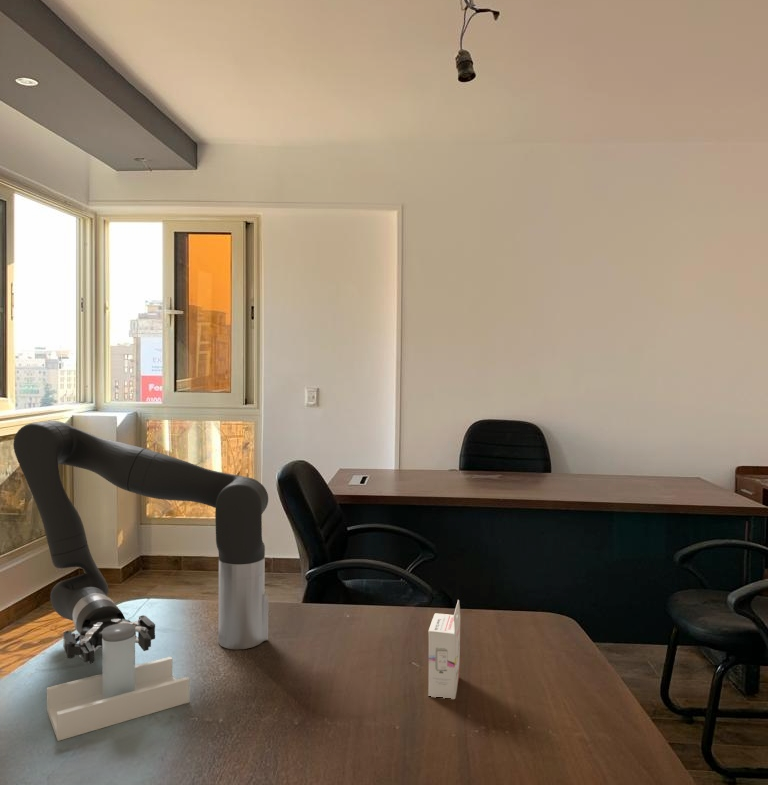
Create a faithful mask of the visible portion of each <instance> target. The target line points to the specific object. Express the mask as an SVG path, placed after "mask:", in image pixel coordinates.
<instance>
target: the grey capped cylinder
mask: <svg viewBox="0 0 768 785" xmlns="http://www.w3.org/2000/svg"><path fill="white" fill-rule="evenodd" d="M101 649H102V650H101V652H102V657H101V658H102V666H101V667H102V673H101V674H102V681H103V699H106V698H110V697H114V696H117V695H121V694H125V693H128V692H132V691H135V665H136V643H135V626H134V625H132V624H128V623H120V624H114V625H111V626H108V627H106V628H104V629H103V631H102V648H101Z"/></svg>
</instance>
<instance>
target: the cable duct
mask: <svg viewBox="0 0 768 785" xmlns="http://www.w3.org/2000/svg"><path fill="white" fill-rule="evenodd" d="M189 703H190V678H189V676H184V677H181V678H177V679H176V678H175V677H174V675H173V658H172V656H167V657H162V658H160V659H155V660H151V661H148V662H144V663H143V662H142V663H140V664H135V691H132V692H128V693H125V694H121V695H117V696H114V697H110V698H106V699H103V681H102V673H100V674H97V675H90V676H88V677H84V678H79V679H76V680H72V681H68V682H64V683H59V684H55V685H52V686H48V687H46V713H47V715H48V718H49V720H50V723H51V726H52V729H53V732H54V734H55V737H56V740H57V742H58V741H59V742H60V741H62V740H66V739H69V738H73V737H77V736H79V735H83V734H86V733H89V732H93V731H96V730H100V729H104V728H107V727H110V726H115V725H117V724H120V723H124V722H128V721H131V720H133V719H137V718H140V717H144V716H147V715H151V714H154V713H157V712H162V711H165V710H167V709H170V708H174V707H178V706H181V705H182V706H183V705H185V704H189Z"/></svg>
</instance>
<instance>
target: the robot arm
mask: <svg viewBox="0 0 768 785" xmlns="http://www.w3.org/2000/svg"><path fill="white" fill-rule="evenodd" d="M12 444H13V445H12V446H13V450H14V451H13V452H14V454H15V458H16V460H17V462H18V464H19V467H20V469H21V472H22V474H23V476H24V479H25V480H26V482H27V486H28V488H29V490H30V492H31V495H32V497H33V498H32V499H34V502H35V505H36V508H37V510H38V513H39V515H40V519H41V522H42V524H43V525H42V526H43V528H44V533H45V537H46V541H47V545H48V550H49V554H50V558H51V562H52V564H53V566H54V567H55V568H56V569H68V568H80V569H82V571H83V572H84V573H82V574H79V575H76V576H73V577H70V578H67V579H66V578H65V579H64V580H61V581H59V582H57V583H56V584H54V586H53V587H52V588H51V591H50V604H51V606H52V608H53V610H54V611H55V612H56V614H57V615H59V616H60V617H62V618H64V619H66V620H69V621H72V622H73V625H74V628H75V630H76V631H77V633H75V632H72V631H71V630H67V631H64V632H63V635H62V636H63V637H62V639H63V641H62V643H63V646H62V647H63V649H64V653H65V655H66V656H65V657H66V659H73V658H74V659H75V657H76V656H79V658H81V659H82V661H83V662H85V663H87V662H88V665H92V664H95V652H96V651H97V650H98V649H100V648H101V649H102V631H103V629H104V628H106V627H108V626H111V625H114V624H120V623H128V624H132V625H134V626H135V644H138V645H139V647H140V649H141V650H143V652H145V651H149V650H150V647H152V640H156V623H155V622H153V621H152V619H150V618H149V617H148V616H146V615H143V614H142V615H139V616H138V619H137V620H134V621H131V620H129V619H126V617H125V615H124V613H123V612H122V610H121V609H120V608H119V607H118V606H117V604H116V603H115V602H114V601H113V599H111V597H109V596H108V594H109V586H108V583H107V581H106V578H105V577H104V576H103V574H102V573H101V570H100V569H99V568H98V565H97V564H96V562H95V560H94V558H93V555H92V553H91V550H90V548H89V543H88V539H87V535H86V531H85V530H86V529H85V527H84V524H83V521H82V518H81V516H80V514H79V512H78V511H77V509H76V507H75V505H74V504H73V502H72V501H71V499H70V498H69V496H68V494H67V492H66V489H65V488H64V485H63V483H62V480H61V477H60V470H59V465H65V466H70V467H74V468H80V469H83V470H87V471H90V472H93V473H95V474H97V475H98V476H100V477H102V478H103V479H104V480H105V481H107V482H109V483H110V484H112V485H114V486H115V487H117V488H119V489H122V490H124V491H127V492H130V493H133V494H136V495H140V496H142V497H147V498H151V499H157V500H163V501H176V502H177V501H178V502H179V501H180V502H181V501H182V502H192V503H199V504H203V505H206V506H209V507H212V508H214V510H215V511H214V512H215V513H214V514H215V516H214V518H215V522H214V523H215V543H216V547H217V550H218V631H217V636H218V639H217V640H218V644H219V646H221V647H223V648H225V649H229V650H245V649H250V648H254V647H256V646H257V647H258V645H260V644H262V643H263V642H265V641H268V640H269V594H268V593H266V592H265V579H266V578H265V576H266V575H265V561H266V560H265V559H266V558H265V555H266V553H265V552H266V551H265V550H266V546H265V543H264V542H263V529H262V528H263V526H262V525H263V523H262V522H263V519H262V518H263V517H262V516H263V514H264V512H265V510H266V509H267V506H268V504H269V494H268V491H267V489H266V487H265V486H264V485H263V484H262V483H261V482H260V481H258V480H256V479H254V478H252V477H249V476H244V475H243V476H242V475H238V474H232V473H226V472H221V471H216V470H212V469H207V468H205V467H202V466H199V465H197V464H193V463H191V462H189V461H186V460H182V459H179V458H177V457H174V456H170V455H168V454H165V453H162V452H159V451H155V450H151V449H148V448H145V447H141V446H136V445H133V444H129V443H124V442H121V441H117V440H110V439H106V438H103V437H100V436H97V435H94V434H92V433H91V432H90V433H89V432H87V431H84V430H82V429H80V428H78V427H76V426H73V425H70V424H68V423H66V422H62V421H58V420H44V421H43V420H42V421H37V422H36V421H35V422H31V423H28V424H25V425H23V426H22V427H20V428H19V429H18V431H17V432H16V434H15V436H14V438H13V443H12ZM137 633H138V634H137ZM136 634H137V635H138V636H137V635H136ZM78 642H79V643H78Z"/></svg>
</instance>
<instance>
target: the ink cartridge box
mask: <svg viewBox="0 0 768 785" xmlns="http://www.w3.org/2000/svg"><path fill="white" fill-rule="evenodd" d="M427 632H428V633H427V634H428V692H427V693H428V694H427V697H428V696H431V697H430V698H436V697H443V698H442V699H445V698H451V699H450V700H456V698H457V692H458V684H459V678H460V656H461V655H460V651H461V650H460V649H461V648H460V647H461V644H460V643H461V606H460V600H459V599H457V603H456V606H455V610H454V614H446V613H437V612H436V613H434V614H433V617H432V619H431V623H430V626H429V628H428V631H427Z"/></svg>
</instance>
